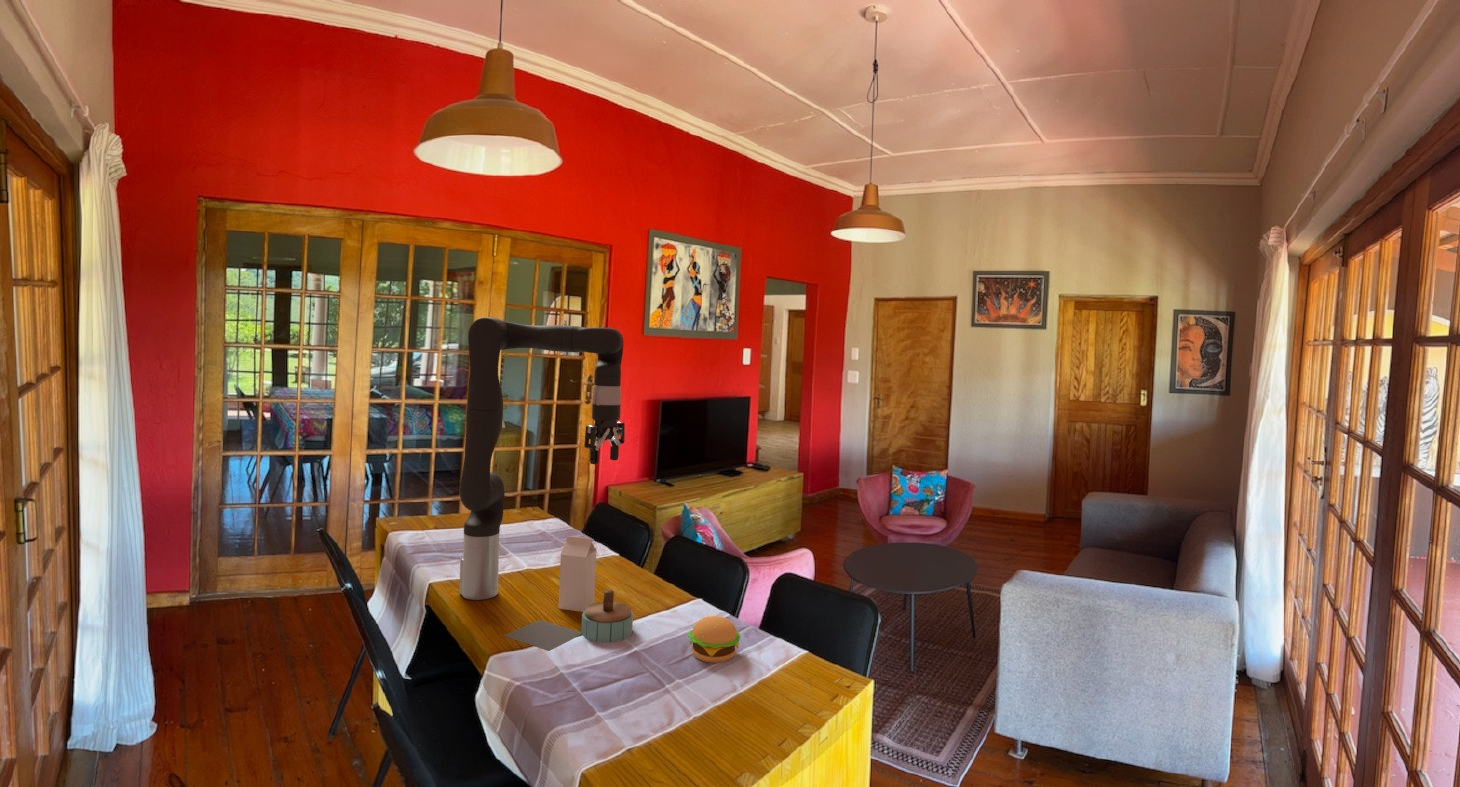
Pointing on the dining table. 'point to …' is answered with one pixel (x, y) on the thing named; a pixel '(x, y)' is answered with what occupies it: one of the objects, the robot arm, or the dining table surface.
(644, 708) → the dining table surface
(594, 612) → the lid
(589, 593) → the milk carton
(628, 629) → the bowl
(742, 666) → the dining table surface
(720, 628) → the hamburger
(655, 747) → the dining table surface
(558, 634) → the mat
